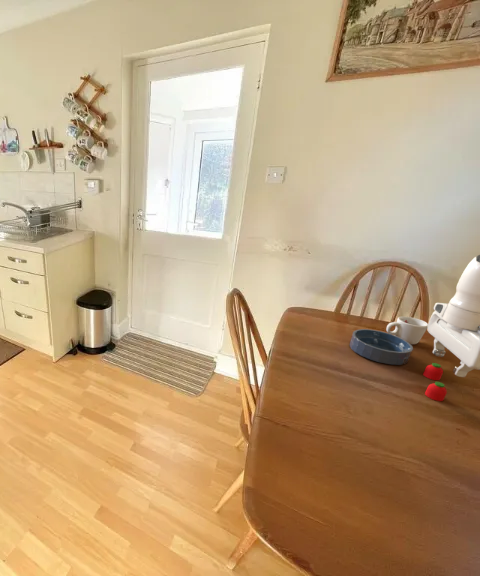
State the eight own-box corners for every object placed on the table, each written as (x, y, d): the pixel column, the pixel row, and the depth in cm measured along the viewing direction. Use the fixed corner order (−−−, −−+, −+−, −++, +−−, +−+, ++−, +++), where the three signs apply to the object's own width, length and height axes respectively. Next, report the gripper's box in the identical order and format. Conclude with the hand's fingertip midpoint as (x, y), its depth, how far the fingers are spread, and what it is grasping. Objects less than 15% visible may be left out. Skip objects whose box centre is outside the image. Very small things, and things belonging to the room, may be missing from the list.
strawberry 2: (438, 394, 87) (444, 381, 85) (446, 402, 84) (452, 389, 82) (422, 391, 88) (427, 378, 87) (428, 399, 85) (434, 386, 84)
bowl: (395, 345, 110) (400, 333, 108) (417, 370, 97) (423, 356, 95) (343, 338, 116) (347, 326, 114) (357, 360, 102) (361, 347, 101)
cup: (389, 344, 111) (397, 324, 108) (376, 333, 118) (383, 314, 115) (426, 347, 109) (435, 327, 106) (410, 336, 116) (418, 317, 113)
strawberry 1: (429, 372, 96) (435, 360, 94) (443, 379, 93) (449, 367, 91) (419, 373, 96) (424, 361, 94) (432, 381, 92) (438, 368, 91)
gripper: (521, 340, 67) (491, 392, 72) (461, 304, 85) (441, 348, 90) (481, 335, 70) (455, 385, 75) (431, 300, 87) (413, 343, 92)
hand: (447, 364), depth 82 cm, fingers open, 8 cm apart
